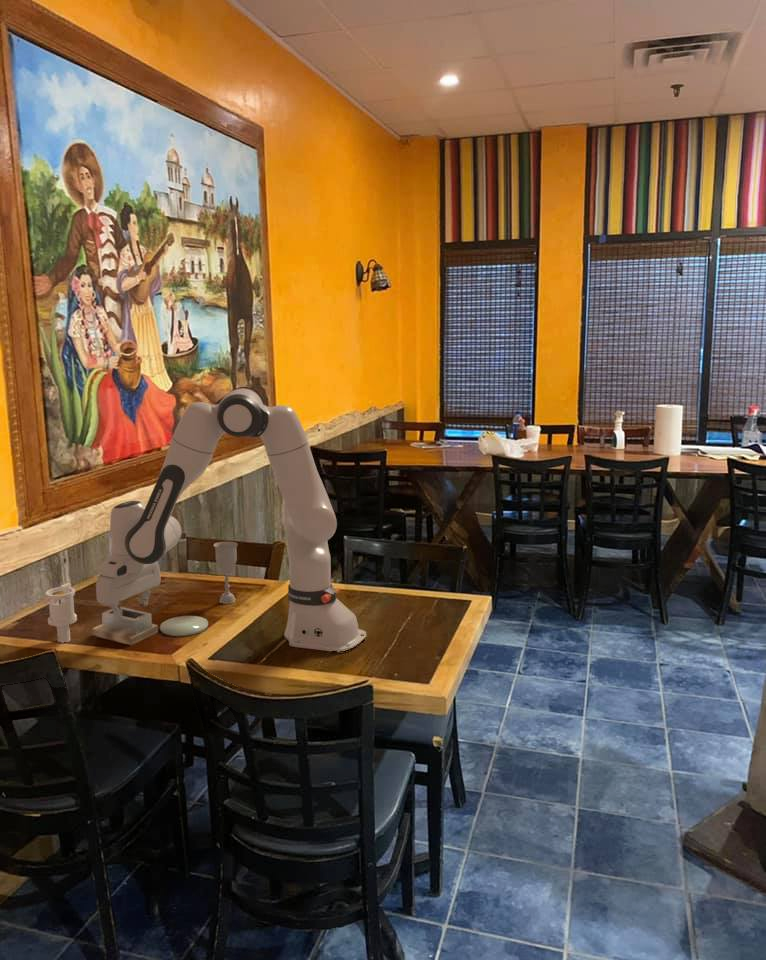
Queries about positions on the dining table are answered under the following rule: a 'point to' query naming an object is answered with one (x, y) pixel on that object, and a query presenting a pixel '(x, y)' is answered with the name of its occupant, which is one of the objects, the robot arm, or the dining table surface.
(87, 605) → the dining table surface
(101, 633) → the stand
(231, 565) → the chalice
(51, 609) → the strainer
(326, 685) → the dining table surface
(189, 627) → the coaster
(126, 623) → the grey hollow block
